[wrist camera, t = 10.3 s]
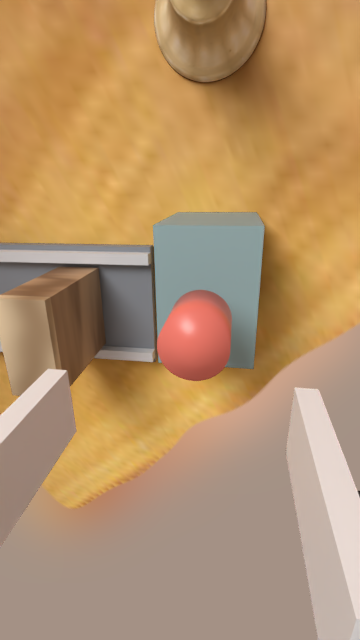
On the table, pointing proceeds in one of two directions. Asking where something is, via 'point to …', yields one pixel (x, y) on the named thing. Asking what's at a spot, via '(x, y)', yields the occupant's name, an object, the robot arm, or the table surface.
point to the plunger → (196, 336)
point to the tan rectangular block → (51, 325)
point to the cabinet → (212, 269)
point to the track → (115, 283)
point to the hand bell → (208, 35)
